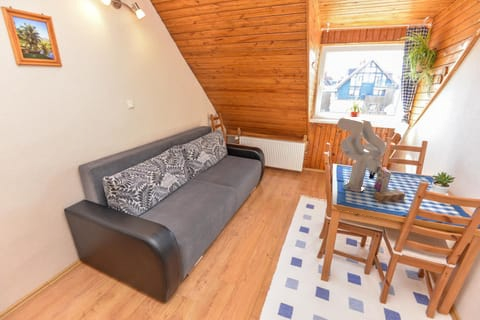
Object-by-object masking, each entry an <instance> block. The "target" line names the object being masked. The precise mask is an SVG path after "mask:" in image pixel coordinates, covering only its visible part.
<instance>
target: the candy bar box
mask: <svg viewBox="0 0 480 320" xmlns="http://www.w3.org/2000/svg"><path fill="white" fill-rule="evenodd" d="M391 176H392V172H391V171H390V170H389V169H387V167H384V166H381V167H379V169H378V174H376V177H375V182H374V187H375V188H376V190H377V192H381V191H388V187H389V183H390V180H391Z"/></svg>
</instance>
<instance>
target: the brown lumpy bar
mask: <svg viewBox="0 0 480 320" xmlns="http://www.w3.org/2000/svg"><path fill="white" fill-rule="evenodd" d="M405 197H406V193H405V192H403V191H401V190H400V189H392V190H391V189H390V190H387V191H381V192H379V191H375V192H374V194H373V199H375V200H376V201H377V200H378V202H379V203H386V202H393V201H394V202H395V201H402V200H403V201H405V200H404V199H405ZM385 201H386V202H385Z"/></svg>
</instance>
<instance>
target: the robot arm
mask: <svg viewBox="0 0 480 320" xmlns="http://www.w3.org/2000/svg"><path fill="white" fill-rule="evenodd" d="M337 127H338V129H340V130H342V131H346V132H347V131H348V132H350V133H349V134H348V135H347V137H345V138H343V139H342V140H341V141H340V149H341V151H342V153H343V154H344V155H345V157H346V158H348V159H351V160H353V161H355V162H354V163H353V164H352V165H351V170H350V175H349V179H348V181H347V182H346V183H342V186H343V187H345V188H346V189H347V190H349V191H352V192H356V193H360V192H364V191H365V188H364V187H363V184H364V180H365V176H366V171H368V172H369V174H368V175H369V176H368V179H369V180H374V178H375V175H377V174H378V169H379V167H382V164H383V163H382V162H383V161H382V160H383V156H384V154H385V153H386V152H387V146H386V142H385V141H384V139H383V138H381V137H380V136H379V134H376V133H375V130H374V128H373V126H372V122H371V121H370V120H369V119H367V118H361V117H356V116H355V117H354V116H353V117H352V116H351V117H350V116H349V117H345V116H344V117H340V119H338V121H337ZM362 140H363V141H365V142H366V143H365V144H364V143H363V141H362Z"/></svg>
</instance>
